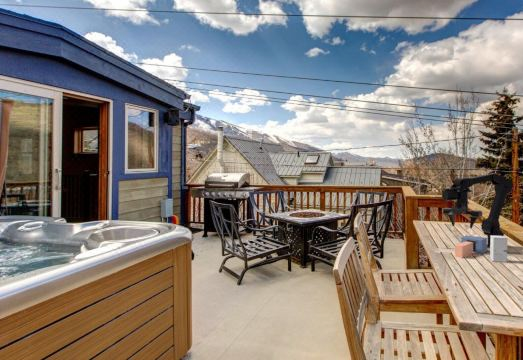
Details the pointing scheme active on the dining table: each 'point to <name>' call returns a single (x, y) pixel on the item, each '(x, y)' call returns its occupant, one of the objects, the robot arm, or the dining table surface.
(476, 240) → the block
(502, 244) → the skincare box
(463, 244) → the salmon pink prism
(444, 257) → the dining table surface
